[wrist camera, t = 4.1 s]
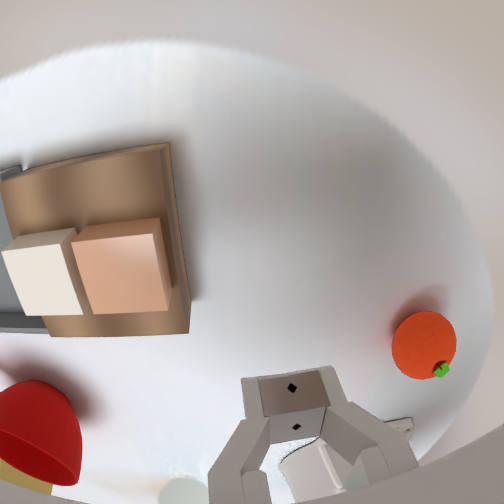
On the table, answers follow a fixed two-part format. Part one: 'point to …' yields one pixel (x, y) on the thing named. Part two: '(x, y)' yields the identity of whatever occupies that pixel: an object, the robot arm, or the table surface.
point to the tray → (3, 292)
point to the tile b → (124, 266)
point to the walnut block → (101, 212)
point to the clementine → (424, 345)
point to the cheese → (23, 479)
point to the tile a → (46, 273)
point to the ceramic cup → (40, 433)
